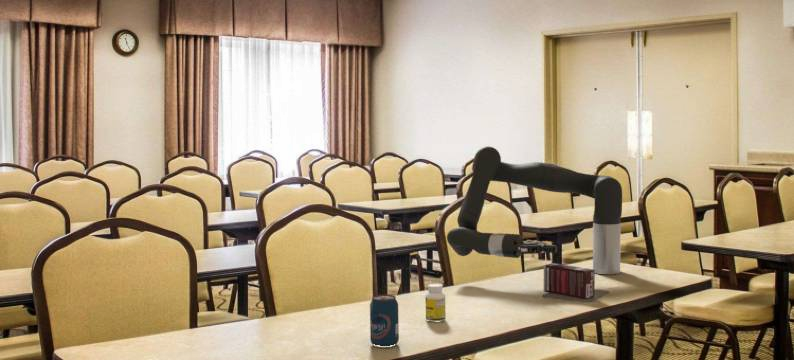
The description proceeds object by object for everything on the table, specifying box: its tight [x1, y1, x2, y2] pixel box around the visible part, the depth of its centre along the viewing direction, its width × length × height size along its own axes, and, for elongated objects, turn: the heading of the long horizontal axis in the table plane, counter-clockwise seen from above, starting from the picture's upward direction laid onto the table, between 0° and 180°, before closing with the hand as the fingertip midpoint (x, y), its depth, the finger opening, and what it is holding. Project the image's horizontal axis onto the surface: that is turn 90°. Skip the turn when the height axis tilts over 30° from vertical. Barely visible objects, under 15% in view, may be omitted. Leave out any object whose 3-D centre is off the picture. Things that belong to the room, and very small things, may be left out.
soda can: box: [369, 294, 400, 346], centre depth 221 cm, size 7×7×12 cm
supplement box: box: [543, 262, 596, 299], centre depth 274 cm, size 9×5×16 cm
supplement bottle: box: [425, 283, 447, 322], centre depth 245 cm, size 5×5×10 cm
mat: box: [542, 288, 610, 303], centre depth 276 cm, size 16×15×1 cm
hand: (556, 249), depth 279 cm, fingers closed
